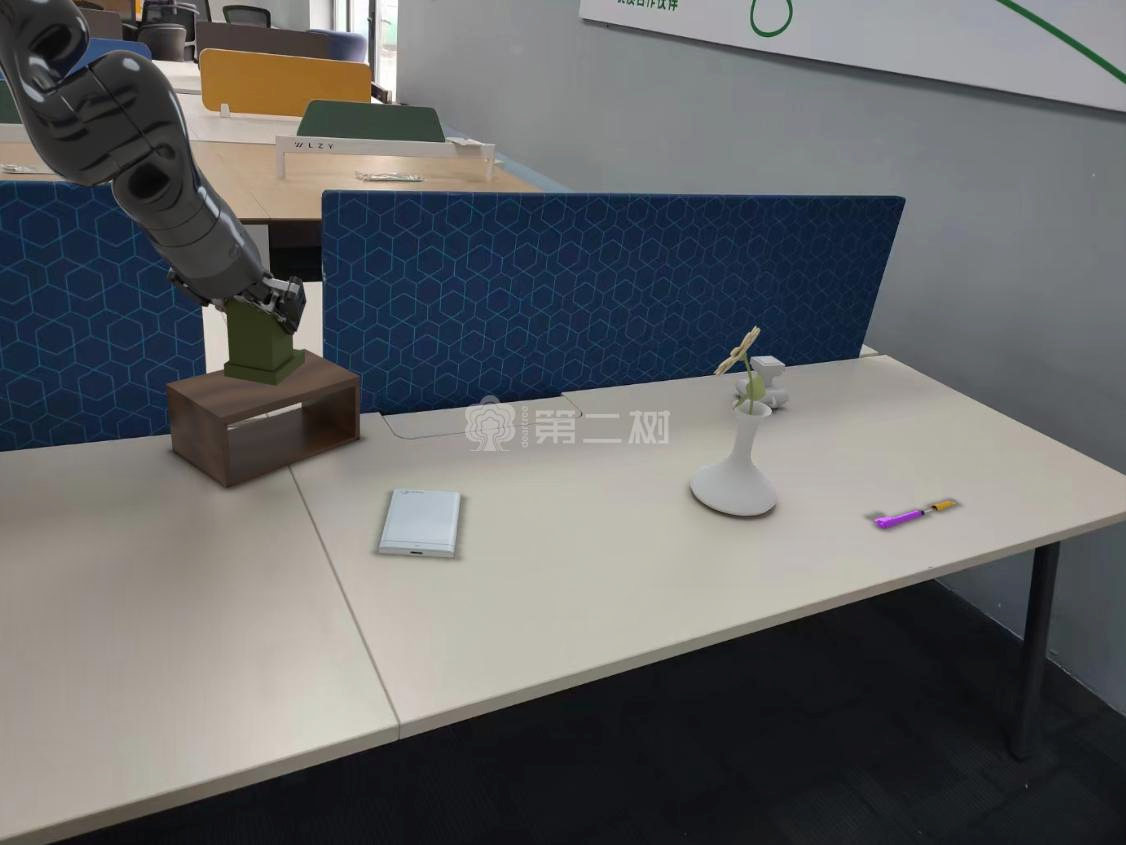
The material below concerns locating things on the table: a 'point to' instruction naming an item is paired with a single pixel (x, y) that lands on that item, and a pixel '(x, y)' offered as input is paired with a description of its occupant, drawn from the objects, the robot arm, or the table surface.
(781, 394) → the stamp
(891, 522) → the purple and yellow rod
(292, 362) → the green pedestal block
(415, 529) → the hard drive
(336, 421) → the brown wooden cubby
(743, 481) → the flower in vase
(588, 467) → the table surface
